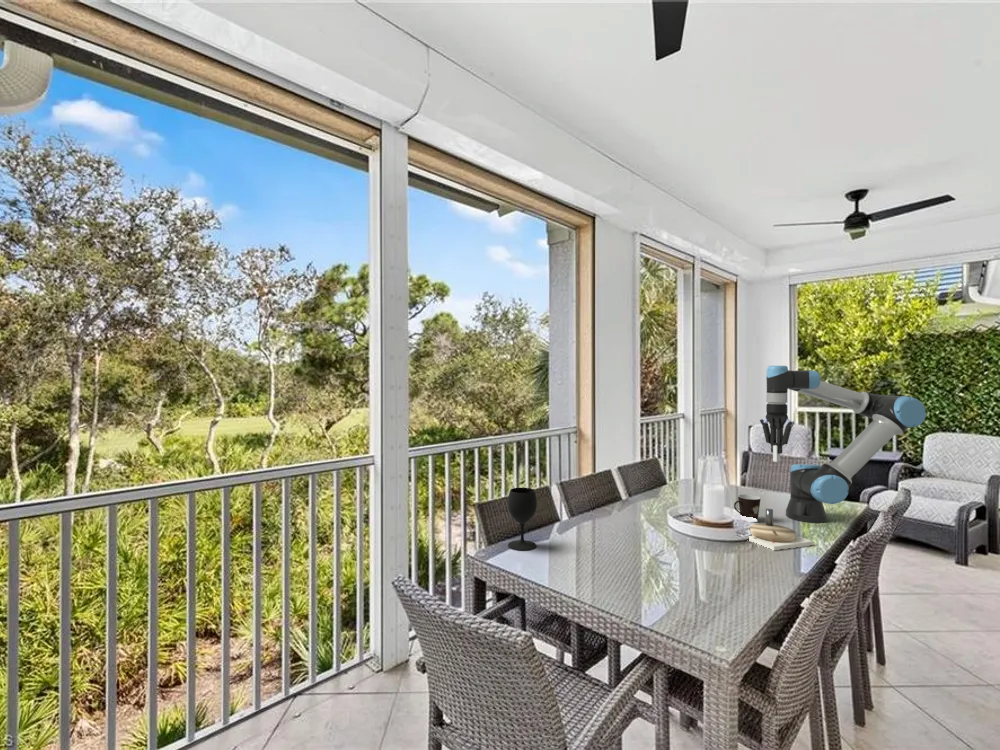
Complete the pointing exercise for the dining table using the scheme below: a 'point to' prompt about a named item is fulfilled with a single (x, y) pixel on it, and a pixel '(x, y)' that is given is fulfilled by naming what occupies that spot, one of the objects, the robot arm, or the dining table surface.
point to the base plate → (781, 543)
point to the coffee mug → (748, 505)
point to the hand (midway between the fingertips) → (776, 461)
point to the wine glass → (522, 514)
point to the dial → (772, 530)
